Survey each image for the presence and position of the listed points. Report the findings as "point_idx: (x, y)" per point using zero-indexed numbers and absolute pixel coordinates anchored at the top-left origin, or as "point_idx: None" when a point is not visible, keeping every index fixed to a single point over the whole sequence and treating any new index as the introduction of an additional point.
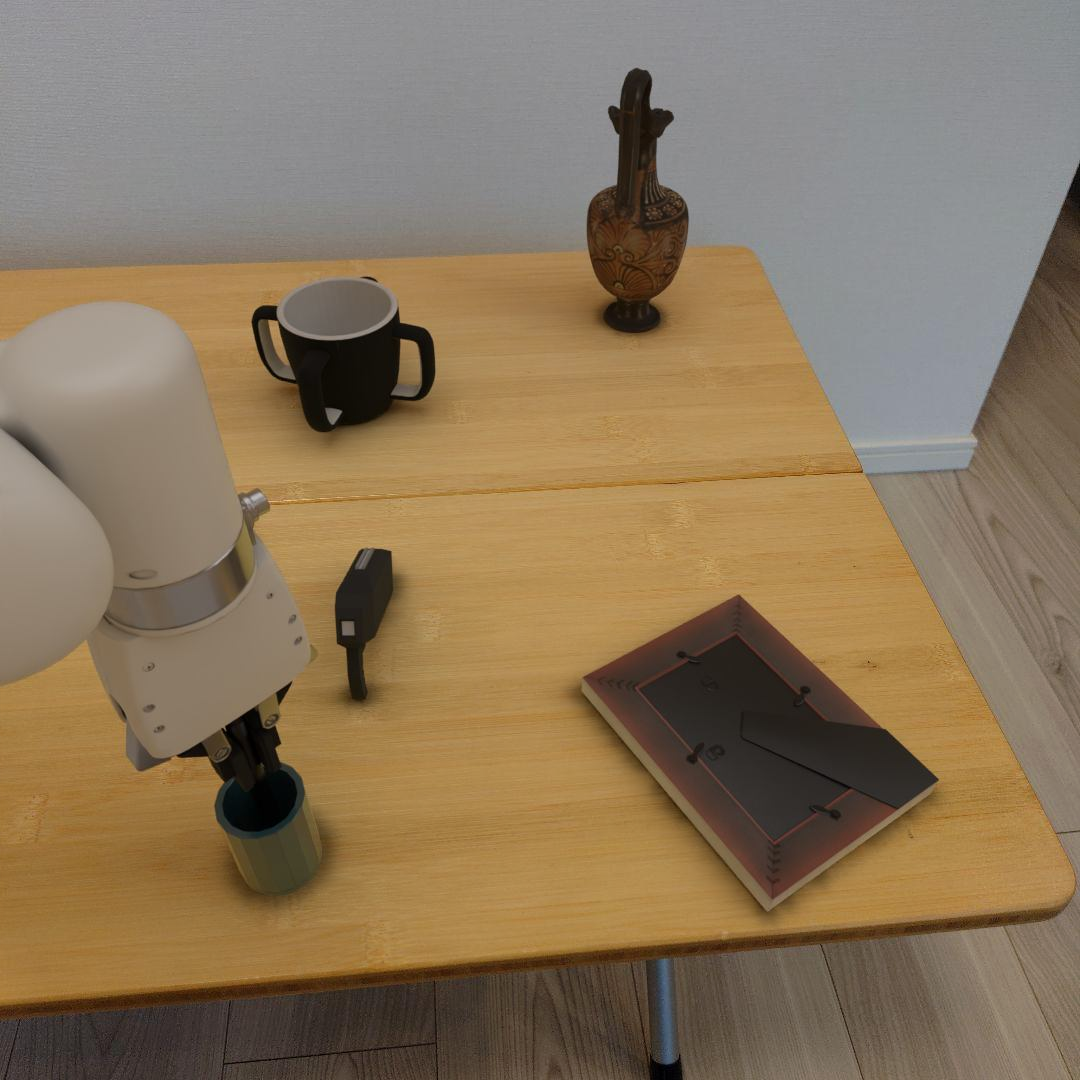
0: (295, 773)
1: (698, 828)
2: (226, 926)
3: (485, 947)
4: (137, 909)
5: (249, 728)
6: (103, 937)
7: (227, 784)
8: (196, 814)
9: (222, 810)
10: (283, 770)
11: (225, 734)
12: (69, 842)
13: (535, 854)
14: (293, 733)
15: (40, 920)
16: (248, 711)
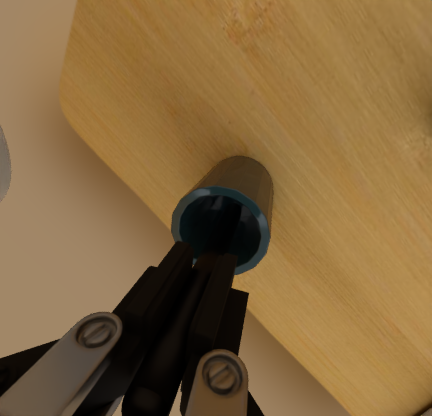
0: (265, 245)
1: (426, 414)
2: (178, 193)
3: (272, 329)
4: (141, 127)
5: (183, 375)
6: (114, 125)
7: (206, 193)
8: (221, 92)
9: (182, 211)
10: (260, 233)
11: (125, 385)
12: (127, 13)
13: (349, 332)
14: (352, 95)
15: (85, 69)
16: (187, 404)
